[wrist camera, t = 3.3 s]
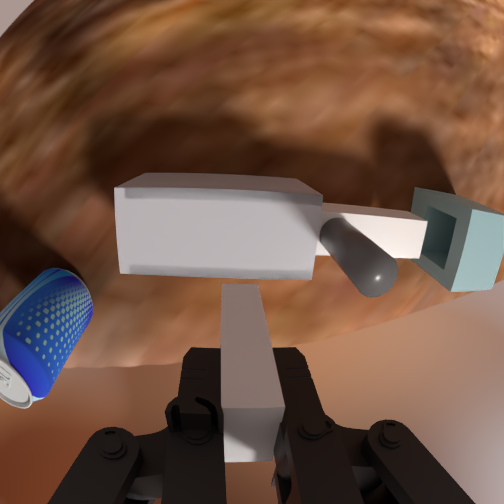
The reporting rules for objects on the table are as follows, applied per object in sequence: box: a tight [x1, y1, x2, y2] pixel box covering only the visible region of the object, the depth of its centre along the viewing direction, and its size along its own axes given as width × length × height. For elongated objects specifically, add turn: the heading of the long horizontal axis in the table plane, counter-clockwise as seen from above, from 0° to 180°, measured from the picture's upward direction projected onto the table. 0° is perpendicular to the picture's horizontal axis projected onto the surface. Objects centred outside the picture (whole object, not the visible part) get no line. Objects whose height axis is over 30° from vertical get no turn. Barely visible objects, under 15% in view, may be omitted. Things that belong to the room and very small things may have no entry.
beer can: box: [0, 268, 93, 408], centre depth 24 cm, size 8×8×16 cm
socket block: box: [409, 187, 504, 292], centre depth 27 cm, size 8×7×10 cm
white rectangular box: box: [114, 173, 323, 280], centre depth 26 cm, size 7×15×9 cm, turn 86°
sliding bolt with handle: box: [315, 203, 428, 297], centre depth 22 cm, size 4×24×11 cm, turn 86°
